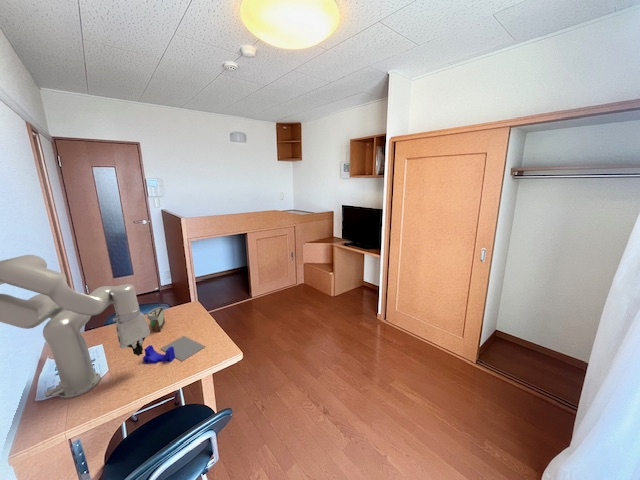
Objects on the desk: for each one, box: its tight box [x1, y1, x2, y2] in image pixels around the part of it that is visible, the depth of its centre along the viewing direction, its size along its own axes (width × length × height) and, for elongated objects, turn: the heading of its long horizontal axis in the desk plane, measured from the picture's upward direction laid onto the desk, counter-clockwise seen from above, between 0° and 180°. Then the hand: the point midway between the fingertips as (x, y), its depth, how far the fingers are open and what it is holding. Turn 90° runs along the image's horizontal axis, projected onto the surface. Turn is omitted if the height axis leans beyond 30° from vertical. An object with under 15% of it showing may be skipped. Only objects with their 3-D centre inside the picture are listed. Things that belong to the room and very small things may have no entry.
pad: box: [159, 335, 206, 362], centre depth 126 cm, size 12×18×1 cm, turn 59°
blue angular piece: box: [142, 344, 176, 365], centre depth 117 cm, size 12×4×6 cm, turn 83°
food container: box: [147, 306, 166, 333], centre depth 142 cm, size 12×6×10 cm, turn 17°
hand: (138, 353), depth 108 cm, fingers closed
